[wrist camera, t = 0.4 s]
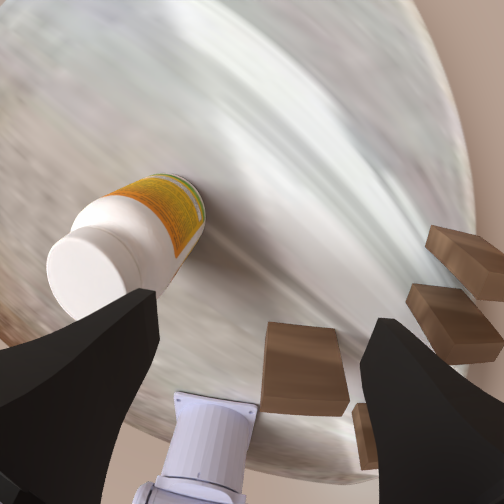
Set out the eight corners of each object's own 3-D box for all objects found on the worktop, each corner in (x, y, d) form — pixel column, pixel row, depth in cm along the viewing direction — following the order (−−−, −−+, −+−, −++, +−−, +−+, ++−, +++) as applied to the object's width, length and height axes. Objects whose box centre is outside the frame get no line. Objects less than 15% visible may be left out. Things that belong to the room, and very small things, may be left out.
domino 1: (329, 344, 22) (341, 416, 15) (265, 338, 22) (259, 411, 15) (334, 328, 21) (350, 401, 15) (268, 321, 21) (263, 395, 15)
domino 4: (453, 306, 20) (494, 361, 13) (405, 302, 20) (442, 365, 13) (460, 289, 19) (505, 342, 12) (412, 283, 19) (454, 344, 13)
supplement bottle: (137, 163, 17) (31, 201, 8) (216, 184, 17) (155, 244, 9) (126, 238, 19) (39, 315, 10) (197, 261, 20) (141, 362, 11)
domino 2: (393, 411, 25) (408, 464, 18) (351, 412, 25) (361, 470, 19) (400, 401, 24) (417, 456, 18) (357, 403, 24) (368, 462, 18)
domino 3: (473, 255, 18) (526, 303, 11) (424, 246, 18) (477, 299, 11) (479, 236, 17) (536, 279, 11) (431, 225, 17) (488, 271, 11)
